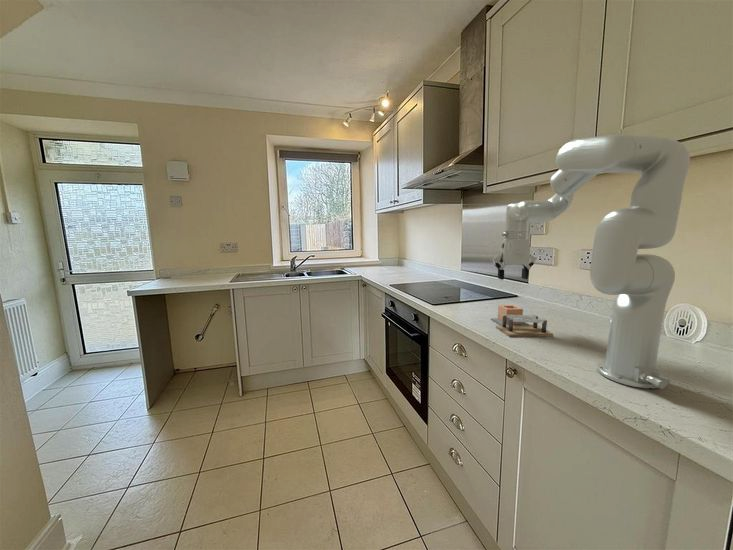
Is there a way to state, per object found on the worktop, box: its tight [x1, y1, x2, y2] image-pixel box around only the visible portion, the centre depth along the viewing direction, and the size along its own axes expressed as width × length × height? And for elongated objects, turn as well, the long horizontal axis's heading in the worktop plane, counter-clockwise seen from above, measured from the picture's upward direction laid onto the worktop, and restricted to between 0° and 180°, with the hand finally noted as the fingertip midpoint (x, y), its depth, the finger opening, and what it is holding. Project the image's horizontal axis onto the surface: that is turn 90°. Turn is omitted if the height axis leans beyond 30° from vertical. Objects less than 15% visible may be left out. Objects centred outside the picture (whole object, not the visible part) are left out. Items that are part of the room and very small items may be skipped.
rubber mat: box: [490, 317, 530, 326], centre depth 119 cm, size 9×11×1 cm
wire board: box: [495, 324, 554, 338], centre depth 108 cm, size 10×16×1 cm, turn 93°
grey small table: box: [502, 314, 548, 333], centre depth 108 cm, size 8×12×5 cm
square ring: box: [497, 304, 524, 324], centre depth 118 cm, size 7×7×6 cm
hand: (512, 279), depth 116 cm, fingers open, 9 cm apart
